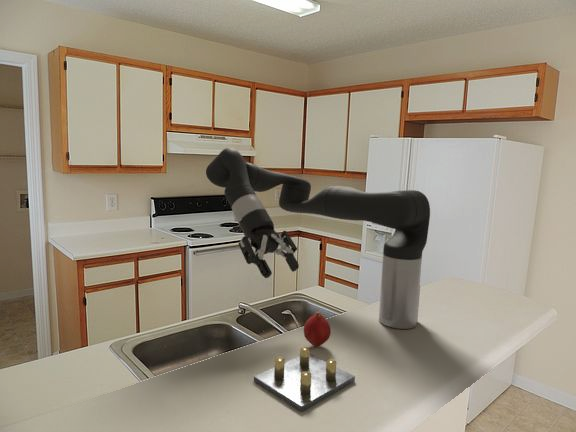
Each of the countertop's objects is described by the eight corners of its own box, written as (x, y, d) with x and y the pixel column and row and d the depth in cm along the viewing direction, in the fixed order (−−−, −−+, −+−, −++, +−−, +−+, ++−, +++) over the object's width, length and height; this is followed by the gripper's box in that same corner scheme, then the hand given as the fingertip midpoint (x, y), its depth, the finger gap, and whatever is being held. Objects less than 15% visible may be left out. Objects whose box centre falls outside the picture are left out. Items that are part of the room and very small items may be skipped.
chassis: (307, 357, 84) (307, 338, 84) (354, 381, 76) (355, 360, 75) (253, 381, 75) (254, 360, 74) (301, 412, 66) (302, 388, 65)
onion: (298, 342, 91) (300, 307, 90) (322, 339, 93) (324, 305, 92) (309, 354, 85) (311, 317, 84) (334, 351, 87) (336, 314, 86)
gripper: (267, 223, 109) (296, 275, 102) (221, 229, 99) (250, 287, 92) (281, 205, 104) (312, 259, 97) (235, 209, 94) (267, 269, 88)
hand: (282, 272), depth 95 cm, fingers open, 8 cm apart
